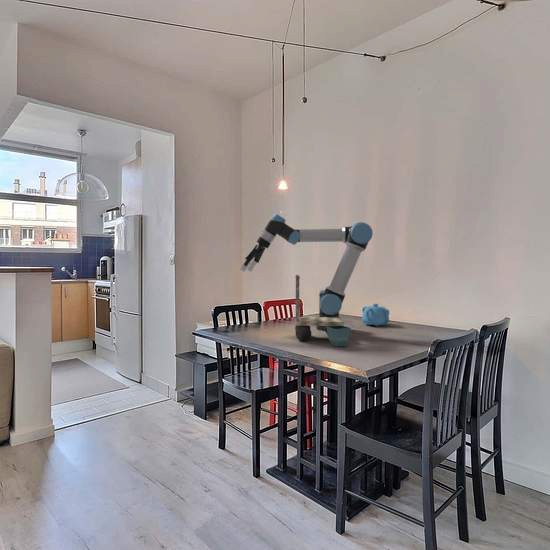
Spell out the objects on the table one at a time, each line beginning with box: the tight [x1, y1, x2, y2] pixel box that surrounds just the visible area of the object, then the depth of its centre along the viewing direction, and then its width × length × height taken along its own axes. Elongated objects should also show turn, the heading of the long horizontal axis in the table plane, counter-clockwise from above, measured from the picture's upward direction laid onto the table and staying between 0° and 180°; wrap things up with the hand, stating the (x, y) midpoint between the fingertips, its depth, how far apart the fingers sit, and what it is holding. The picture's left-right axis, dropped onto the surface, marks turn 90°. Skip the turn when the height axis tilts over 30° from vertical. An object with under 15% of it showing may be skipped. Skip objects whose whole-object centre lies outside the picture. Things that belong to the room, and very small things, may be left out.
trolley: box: [294, 274, 345, 342], centre depth 208 cm, size 24×16×33 cm, turn 88°
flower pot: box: [326, 325, 352, 348], centre depth 191 cm, size 9×9×9 cm
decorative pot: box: [361, 303, 391, 327], centre depth 251 cm, size 16×16×14 cm
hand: (245, 270), depth 229 cm, fingers open, 13 cm apart
